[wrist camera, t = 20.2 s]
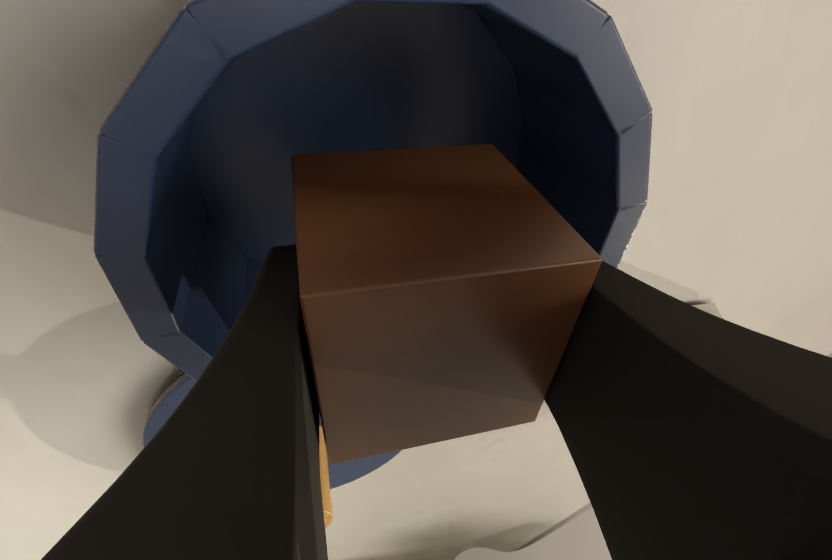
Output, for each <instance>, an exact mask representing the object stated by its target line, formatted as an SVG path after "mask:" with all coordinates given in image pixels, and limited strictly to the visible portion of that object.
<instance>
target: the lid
mask: <svg viewBox="0 0 832 560" xmlns="http://www.w3.org/2000/svg"><path fill="white" fill-rule="evenodd" d="M195 383H196V381H195V380H194V379H192V378H191V377H190V376H188V375H187V374H184V375H182V376H181V377H179V378H178V379H177V380H176V381H175V382H174V383H172V384H171V385H170V386H169V387H168V388H167V389H166V390H165V391H164V392H163V393H162V394H161V396H160V397H159V398H158V399H157V400H156V402H155V403H154V405H153V407H152V409H151V411H150V412H149V415H148V418H147V422H146V425H145V429H144V434H143V445H144V448H145V446H146V445H147V444H148V443H149V441H150V440H151V439H152V438H153V437H154V435H155V434H156V433H157V432H158V431H159V429H160V428H161V427H162V426H163V425H164V423H165V422H166V421H167V420H168V418H169V417H170V416H171V415H172V413H173V412H174V411H175V410H176V408H177V407H178V406H179V404H180V403H181V402H182V400H183V399H184V398H185V396H186V395H187V394H188V392H189V391H190V390H191V388H192V387H193V385H194V384H195ZM400 451H401V450H398V451H393V452H389V453H384V454H379V455H375V456H370V457H366V458H361V459H356V460H352V461H347V462H342V463H338V464H333V465H329V463H328V458H327V452H326V447H325V441H324V435H323V429H322V424H321V419H319V457H320V480H321V491H322V502H323V513H324V524H325V528H326V527H327V526H328V525H330V523H331V522H332V519H333V514H332V503H331V493H330V489H332V488H335V487H338V486H341V485H343V484H346V483H349V482H351V481H354V480H356V479H358V478H360V477H362V476H364V475H366V474H368V473H370V472H372V471H374V470H376V469H377V468H379V467H380V466H382V465H383V464H385V463H386V462H388V461H389V460H391V459H392V458H393V457H394V456H396V455H397V454H398V453H399V452H400Z"/></svg>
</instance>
